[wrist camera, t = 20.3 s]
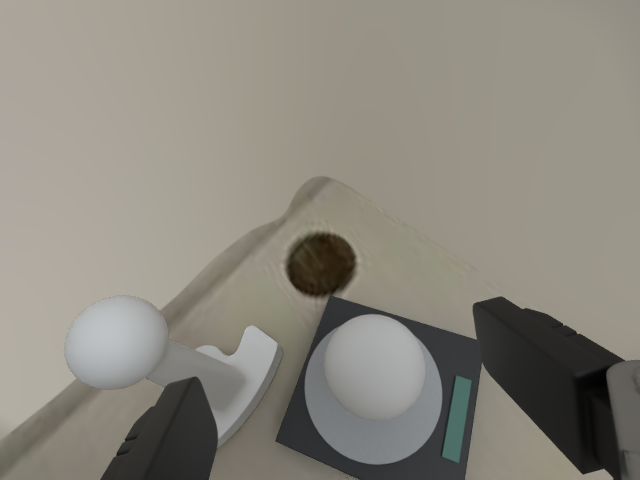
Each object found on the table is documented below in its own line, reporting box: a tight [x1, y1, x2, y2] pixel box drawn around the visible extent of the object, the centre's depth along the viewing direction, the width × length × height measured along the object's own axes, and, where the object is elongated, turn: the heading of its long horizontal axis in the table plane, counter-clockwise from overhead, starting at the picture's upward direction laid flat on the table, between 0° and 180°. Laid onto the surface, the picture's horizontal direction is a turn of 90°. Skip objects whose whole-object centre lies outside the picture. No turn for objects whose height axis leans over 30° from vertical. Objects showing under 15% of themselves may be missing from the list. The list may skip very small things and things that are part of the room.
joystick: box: [64, 296, 283, 449], centre depth 25 cm, size 11×8×20 cm
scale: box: [276, 296, 482, 480], centre depth 30 cm, size 13×14×3 cm
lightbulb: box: [324, 314, 426, 421], centre depth 24 cm, size 6×6×11 cm
